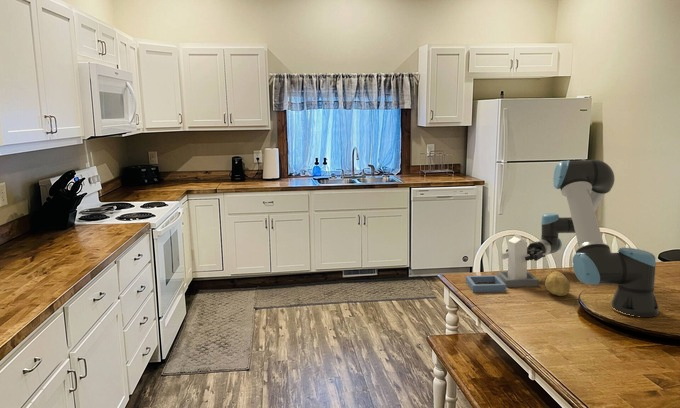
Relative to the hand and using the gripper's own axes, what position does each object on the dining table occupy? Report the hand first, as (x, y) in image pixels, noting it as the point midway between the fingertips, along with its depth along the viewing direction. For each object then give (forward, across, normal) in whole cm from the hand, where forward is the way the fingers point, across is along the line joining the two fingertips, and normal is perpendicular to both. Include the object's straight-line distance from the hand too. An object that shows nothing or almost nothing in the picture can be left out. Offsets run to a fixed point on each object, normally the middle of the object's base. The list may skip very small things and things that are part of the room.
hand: (511, 258), depth 213 cm
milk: (-5, 0, -12) cm, 13 cm away
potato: (-2, -21, -12) cm, 24 cm away
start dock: (-5, 0, -12) cm, 13 cm away
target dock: (+11, +6, -12) cm, 17 cm away
